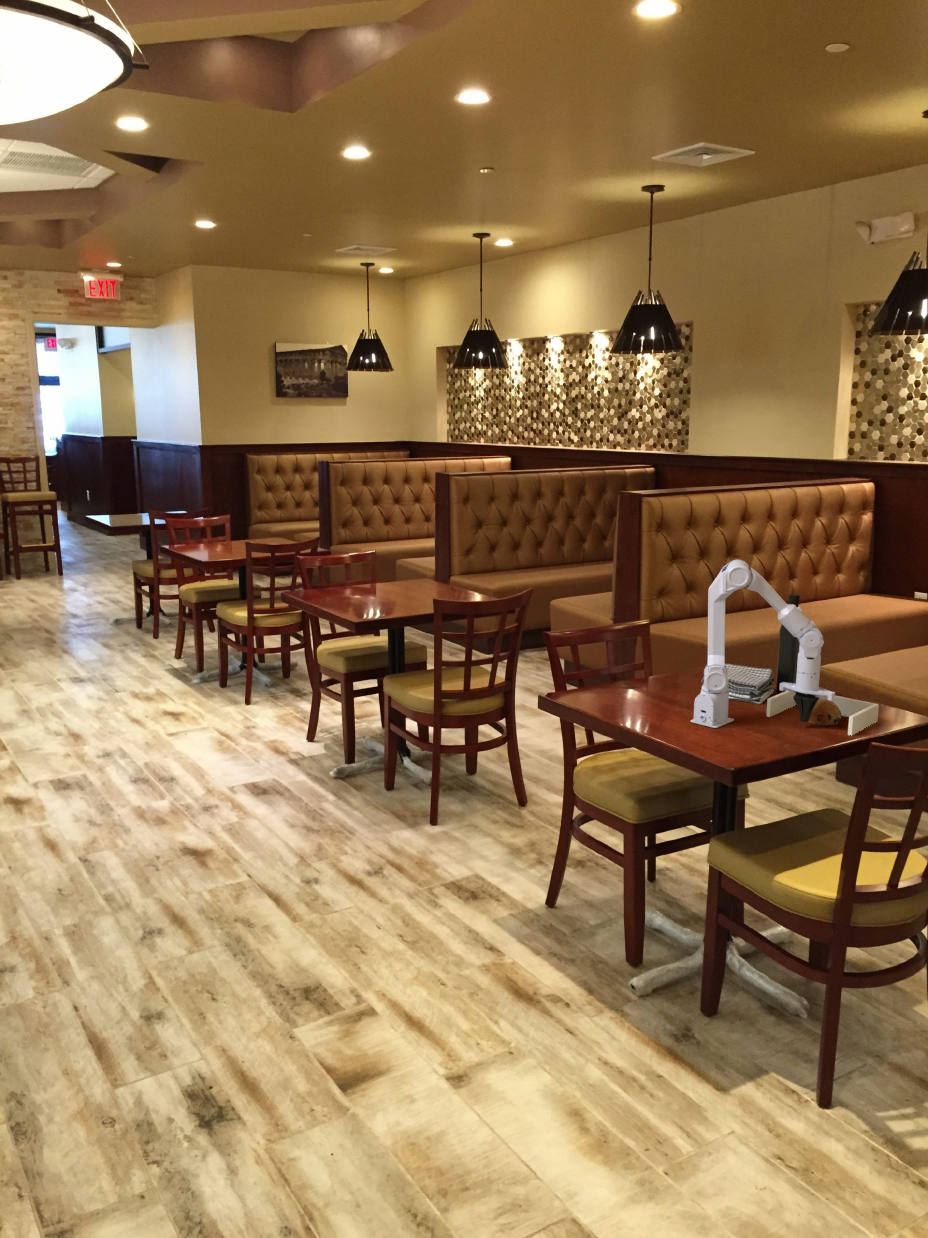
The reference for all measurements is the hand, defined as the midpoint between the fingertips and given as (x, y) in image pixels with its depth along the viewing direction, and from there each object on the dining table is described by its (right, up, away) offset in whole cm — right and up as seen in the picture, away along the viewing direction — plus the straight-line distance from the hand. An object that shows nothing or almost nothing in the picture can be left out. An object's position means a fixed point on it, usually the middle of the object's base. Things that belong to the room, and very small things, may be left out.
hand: (804, 721), depth 263 cm
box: (+7, 0, +7) cm, 10 cm away
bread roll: (+7, -1, +6) cm, 9 cm away
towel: (-9, +4, +31) cm, 33 cm away
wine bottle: (+6, +5, +31) cm, 31 cm away
